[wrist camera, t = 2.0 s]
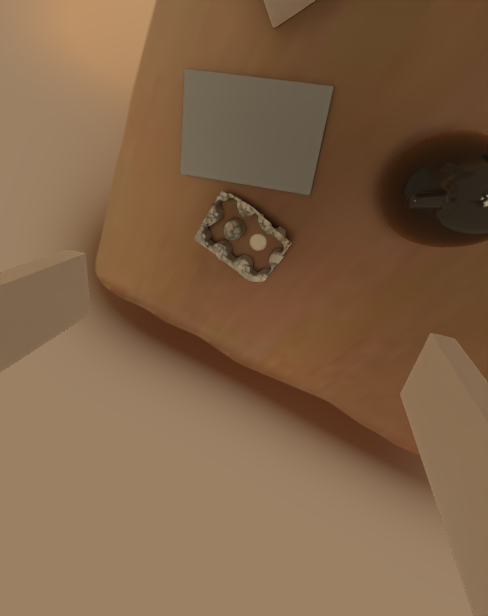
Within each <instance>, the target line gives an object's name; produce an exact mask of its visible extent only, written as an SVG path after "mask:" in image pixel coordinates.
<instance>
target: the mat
mask: <svg viewBox="0 0 488 616" xmlns="http://www.w3.org/2000/svg"><path fill="white" fill-rule="evenodd" d="M333 88H334V86H328V85H319V84H311V83H302V82H294V81H285V80H277V79H268V78H260V77H251V76H243V75H234V74H226V73H217V72H209V71H200V70H192V69H185V74H184V98H183V121H182V145H181V169H180V174H185V175H191V176H197V177H203V178H209V179H215V180H221V181H227V182H233V183H239V184H245V185H251V186H257V187H263V188H269V189H275V190H281V191H287V192H293V193H299V194H305V195H310V192H311V188H312V183H313V179H314V174H315V170H316V165H317V160H318V156H319V151H320V147H321V142H322V138H323V133H324V129H325V124H326V120H327V115H328V111H329V106H330V101H331V97H332V92H333Z"/></svg>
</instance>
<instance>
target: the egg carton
mask: <svg viewBox="0 0 488 616" xmlns="http://www.w3.org/2000/svg"><path fill="white" fill-rule="evenodd" d="M231 198H234V199H236V200H237V202H236V203H237V209H238V211H239V213H240V214H241V216H242V217H249V216H252V215H253V214H254V213H255V214H257V215H258V224H259V225H260V226H261V229H262V230H263V231H265V234H272V235H273V236H274V237H275V238H277V239H278V240H279V241H280V242H281V243H282V244H283V246H284V249H281V248H278V249H275V250H274V251H273V252H272V253H271V255H270V257H269V264H270V266H271V269H262V270H260V271H259V272H257V271H255V270H254V269H253V268H252V267H253V260H252V258H251V257H250V256H248V255H241V256H239V257H238V258H236V257H235V256H233V255H232V254H231V253H232V246H231V244H230V243H229V242H228V241H226V240H221V241H219V242H217V243H214V242H213V241H211V240H210V239H211V232H210V230H209V229H208V226H211V225H213V224H215V223H217V222H219V221H220V220H221V219H222V218H223V209H222V208H221V206H220V205H219V204H220V202H221V200H222V201H227V200H229V199H231ZM244 231H245V225H244V223H243V221H241V220H240V219H232V220H230V221H229V222H227V223H226V224H225V226H224V235H225V237H226V238H227V239H228V240H237V239H238V238H239V237H241V236H242V235H243V233H244ZM285 234H286V231H285V229H283V228H282V227H280V226H279V227H278V228H276V229H275V228H274V227H272V224H271V223H270V222H269V221H268V220H266V219H265V218H264V215H263V214H261V213H259V212H258V211H257V210H256V209H254V208H253V207H252V206H250V205H249V204H247V203H245V202H243V201H242V200H241V199H240V198H239V197H237V196H233V195H232V194H230V193H225V192H223V191H221V192H220V194H219V196H218V197H217V199H216V201H215V203H214V204H213V206H212V207H211V209H210V211H209V213H208V214H207V216H206V218H205V219H204V221H203V223H202V224H201V227H200V228H199V230H198V232H197V234H196V236H195V241H197V242H198V243H200V244H201V245H202V246H204V247H205V248H207V249H209V250H210V251H211V252H212V253H213V254H215V255H216V256H217V257H218V258H219V259H220V260H221V261H223V262H225V263H226V264H227V265H229V266H230V267H231V268H233V269H234V270H236V271H237V272H238V273H239V274H240V275H242V276H243V277H244V278H245V279H247V280H249V281H252V282H264V281H265V280H266V278H267V276H268V275H269V274H270V273H271V272H272V271H273V269H274V267H275V266H276V265H277V264H278V263H279V262H280V261H281V260H282V259H283V257H284V256H283V254H284V253H285V252H286V250H287V249H288V248H289V246H290V245H291V243H292V242H289V241H288V239H287V238H285ZM266 245H267V240H266V238H265V237H264V236H263V235H261V234H254V235H253V236H252V237H251V238H250V246H251V247H252V248H253V249H254V250H255V251H261V250H263V249H264V248H265V247H266Z"/></svg>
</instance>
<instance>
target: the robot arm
mask: <svg viewBox="0 0 488 616" xmlns="http://www.w3.org/2000/svg"><path fill="white" fill-rule="evenodd" d="M87 276H88V275H87V266H86V255H85V253H81V252H77V251H73V250H69V249H68V250H65V251H63V252H59V253H56V254H53V255H51V256H48V257H45V258H42V259H39V260H36V261H33V262H30V263H27V264H24V265H21V266H18V267H15V268H12V269H9V270H6V271H3V272H0V372H2V371H3V370H5V369H6V368H8V367H9V366H11V365H12V364H14V363H15V362H17V361H19V360H20V359H22V358H23V357H25V356H26V355H28V354H29V353H31V352H32V351H34V350H35V349H37V348H38V347H40V346H42V345H43V344H45V343H46V342H48V341H49V340H51V339H53V338H54V337H56V336H57V335H59V334H60V333H62V332H63V331H65V330H66V329H68V328H70V327H71V326H73V325H74V324H76V323H77V322H79V321H80V320H81V319H83V318H85V317H86V316H88V315H90V314H91V306H90V296H89V286H88V277H87ZM400 396H401V399H402V402H403V405H404V408H405V411H406V414H407V417H408V420H409V423H410V426H411V429H412V432H413V435H414V438H415V441H416V444H417V447H418V450H419V453H420V456H421V459H422V462H423V465H424V468H425V471H426V474H427V477H428V480H429V483H430V486H431V489H432V492H433V495H434V498H435V501H436V504H437V507H438V510H439V513H440V516H441V519H442V522H443V525H444V528H445V531H446V534H447V538H448V541H449V543H450V547H451V549H452V553H453V555H454V558H455V561H456V565H457V568H458V570H459V573H460V577H461V579H462V583H463V586H464V589H465V592H466V595H467V598H468V601H469V604H470V607H471V610H472V613H473V616H488V382H487V381H486V380H485V378H484V377H483V376H482V374H481V373H480V372H479V370H478V369H477V368H476V366H475V365H474V363H473V362H472V361H471V359H470V358H469V357H468V355H467V354H466V353H465V351H464V350H463V349H462V347H461V346H460V345H459V343H458V342H457V341H456V339H455V338H451V337H447V336H442V335H438V334H434V333H430V335H429V337H428V339H427V341H426V343H425V345H424V347H423V349H422V351H421V353H420V355H419V357H418V359H417V361H416V363H415V365H414V367H413V369H412V371H411V373H410V375H409V377H408V379H407V381H406V383H405V385H404V387H403V389H402V391H401V393H400Z"/></svg>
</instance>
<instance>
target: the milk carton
mask: <svg viewBox="0 0 488 616" xmlns="http://www.w3.org/2000/svg"><path fill="white" fill-rule="evenodd" d="M314 1H316V0H264V3H265V6H266V9H267V12H268V15H269V18H270V21H271V24H272V27H273V28H275V27H277V26H279V25H280V24H282V23H283V22H285V21H286V20H288V19H289V18H291V17H292V16H294V15H295V14H297V13H298V12H299V11H301V10H302V9H304V8H305V7H307V6H308V5H310V4H311V3H313V2H314Z"/></svg>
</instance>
